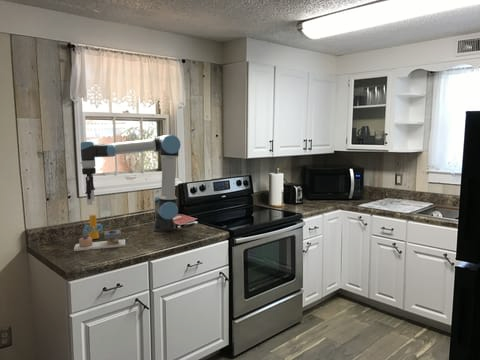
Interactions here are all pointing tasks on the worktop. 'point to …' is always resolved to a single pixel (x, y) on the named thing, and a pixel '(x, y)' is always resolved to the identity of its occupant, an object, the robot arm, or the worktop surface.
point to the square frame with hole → (112, 234)
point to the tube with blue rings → (93, 227)
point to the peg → (85, 240)
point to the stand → (112, 239)
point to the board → (100, 245)
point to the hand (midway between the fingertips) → (91, 202)
